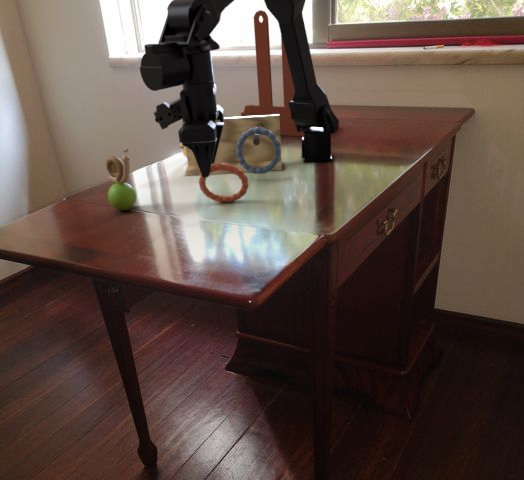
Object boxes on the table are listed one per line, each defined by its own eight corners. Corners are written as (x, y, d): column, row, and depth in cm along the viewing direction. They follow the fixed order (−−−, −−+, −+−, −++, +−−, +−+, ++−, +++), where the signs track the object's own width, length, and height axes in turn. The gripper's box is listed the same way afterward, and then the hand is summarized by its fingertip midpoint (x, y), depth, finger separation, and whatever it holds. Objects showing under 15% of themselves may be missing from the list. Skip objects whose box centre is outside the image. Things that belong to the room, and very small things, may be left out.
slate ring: (281, 171, 120) (279, 125, 115) (281, 173, 119) (279, 127, 114) (238, 173, 121) (234, 128, 116) (238, 175, 120) (234, 129, 115)
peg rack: (281, 162, 131) (279, 113, 125) (280, 184, 117) (278, 130, 111) (190, 168, 133) (183, 119, 127) (178, 190, 119) (170, 136, 113)
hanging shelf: (337, 126, 159) (338, 4, 142) (316, 137, 150) (314, 7, 134) (266, 122, 171) (259, 8, 154) (242, 132, 162) (232, 12, 145)
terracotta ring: (250, 197, 110) (245, 161, 102) (250, 202, 110) (245, 165, 101) (203, 200, 111) (195, 163, 103) (203, 204, 110) (194, 168, 102)
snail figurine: (129, 216, 107) (116, 152, 100) (105, 212, 110) (91, 150, 103) (148, 207, 110) (136, 145, 104) (124, 203, 114) (112, 143, 107)
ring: (188, 163, 136) (183, 129, 132) (178, 162, 138) (173, 128, 134) (207, 156, 141) (203, 123, 136) (197, 155, 143) (193, 122, 138)
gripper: (163, 77, 107) (175, 159, 115) (141, 93, 91) (158, 187, 100) (220, 73, 106) (228, 156, 115) (208, 88, 90) (219, 183, 99)
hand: (208, 170), depth 107 cm, fingers open, 9 cm apart
